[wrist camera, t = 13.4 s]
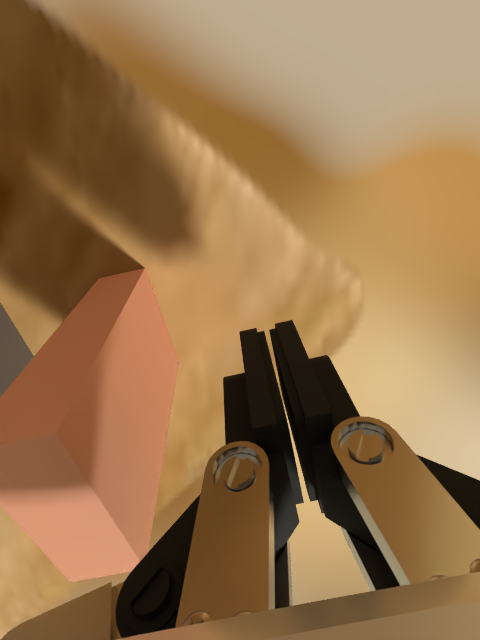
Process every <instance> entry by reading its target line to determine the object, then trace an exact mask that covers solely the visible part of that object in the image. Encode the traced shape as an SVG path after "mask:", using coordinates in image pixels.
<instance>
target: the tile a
mask: <svg viewBox="0 0 480 640" xmlns="http://www.w3.org/2000/svg"><path fill="white" fill-rule="evenodd" d="M33 357H34V356H33V355H32V353H31V351H30V350H29V348H28V347H27V345H26V343H25V342H24V340H23V339H22V337H21V335H20V334H19V332H18V331H17V329H16V327H15V326H14V324H13V323H12V321H11V319H10V318H9V316H8V315H7V313H6V311H5V310H4V308H3V307H2V305H1V303H0V397H1V396H2V395H3V393H4V392H5V391H6V390H7V389H8V387H9V386H10V385H11V384H12V383H13V381H14V380H15V379H16V378H17V377H18V375H19V374H20V373H21V372H22V371H23V369H24V368H25V367H26V366H27V365H28V363H29V362H30V361H31V360H32V359H33Z"/></svg>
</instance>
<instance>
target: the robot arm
mask: <svg viewBox="0 0 480 640" xmlns="http://www.w3.org/2000/svg"><path fill="white" fill-rule="evenodd" d="M269 331H270V336H271V341H272V346H273V351H274V356H275V361H276V366H277V371H278V376H279V381H280V386H281V391H282V396H283V400H284V404H285V408H286V412H287V416H288V420H289V423H290V427H291V431H292V435H293V439H294V442H295V446H296V450H297V453H298V457H299V461H300V465H301V468H302V473H303V476H304V480H305V484H306V488H307V492H308V495H309V499H310V501H315V500H318V502H319V506H320V509H321V512H322V513H324V514H325V517H326V518H328V519H330V520H331V521H333V522H334V523H336V524H338V525H339V526H341V529H342V532H343V535H344V537H345V539H346V541H347V543H348V545H349V547H350V550H351V552H352V554H353V556H354V558H355V560H356V562H357V564H358V566H359V568H360V570H361V572H362V574H363V576H364V579H365V581H366V583H367V585H368V587H369V589H370V591H371V592H365V593H360V594H354V595H349V596H344V597H338V598H332V599H327V600H322V601H317V602H311V603H306V604H300V605H295V606H293V598H292V576H291V556H290V555H291V554H290V543H289V538H290V536H291V534H292V533H293V531H294V529H295V528H296V527H297V525H298V523H299V518H298V514H297V510H296V505H295V504H300V503H304V502H303V497H302V492H301V487H300V482H299V477H298V472H297V467H296V462H295V457H294V452H293V448H292V442H291V437H290V432H289V428H288V423H287V419H286V415H285V410H284V406H283V403H282V399H281V395H280V391H279V387H278V383H277V379H276V375H275V372H274V368H273V364H272V360H271V356H270V352H269V348H268V345H267V341H266V337H265V333H264V331H262V332H257V329H256V328H254V329H250V330H245V331H240V340H241V347H242V355H243V363H244V370H245V373H241V374H237V375H232V376H227V377H224V379H223V385H224V412H225V438H226V445H225V446H223V447H221V448H220V449H218V450H217V451H216V452H215V453H214V454H213V455H212V457H211V458H210V459H209V461H208V463H207V466H206V469H205V473H204V478H203V483H202V489H201V494H200V495H199V496H198V497H197V498H196V499H195V501H194V502H193V503H192V504H191V505H190V506H189V507H188V509H187V510H186V511H185V512H184V513H183V514H182V515H181V516H180V518H179V519H178V520H177V521H176V522H175V523H174V524H173V525H172V526H171V528H170V529H169V530H168V531H167V532H166V533H165V534H164V536H163V537H162V538H161V539H160V540H159V541H158V542H157V543H156V544H155V545H154V546H153V548H152V549H151V550H150V551H149V552H148V553H147V554H146V555H145V557H144V558H143V559H142V560H141V561H140V562H139V563H138V564H137V566H136V567H135V568H134V569H133V570H132V572H131V573H130V574H129V576H128V577H127V579H126V580H125V581H124V582H122V583H120V584H118V585H116V586H115V585H114V584H113V583H112V582H110V583H108V584H106V585H104V586H102V587H99V588H97V589H95V590H93V591H91V592H89V593H86V594H84V595H82V596H80V597H78V598H76V599H73V600H71V601H69V602H67V603H65V604H62V605H60V606H58V607H56V608H54V609H52V610H49V611H47V612H45V613H43V614H41V615H39V616H36V617H34V618H32V619H30V620H28V621H26V622H23V623H21V624H20V625H18V626H17V627H15V628H14V629H12V630H10V631H9V632H8V633H7V634H6V635H5V636H4V637H3V638H2V639H1V640H480V481H479V480H477V479H475V478H472V477H470V476H467V475H465V474H462V473H460V472H458V471H455V470H452V469H450V468H448V467H445V466H443V465H441V464H438V463H436V462H433V461H431V460H428V459H426V458H423V457H421V456H418V455H416V454H415V453H414V452H413V451H412V450H411V448H410V447H409V446H408V445H407V444H406V442H405V441H404V440H403V439H402V438H401V437H400V435H399V434H398V433H397V432H396V431H395V430H394V429H393V428H392V427H391V426H390V425H388V424H387V423H385V422H383V421H381V420H379V419H375V418H371V417H360V415H359V413H358V411H357V410H356V408H355V406H354V404H353V402H352V400H351V398H350V396H349V394H348V393H347V390H346V388H345V387H344V385H343V383H342V381H341V379H340V377H339V375H338V373H337V371H336V370H335V368H334V366H333V364H332V362H331V360H330V358H329V357H328V356H327V355H325V356H320V357H316V358H311V359H309V358H308V355H307V353H306V351H305V348H304V346H303V344H302V341H301V339H300V337H299V334H298V332H297V330H296V328H295V325H294V323H293V321H292V320H290V321H286V322H281V323H277V324H275V329H271V330H269Z"/></svg>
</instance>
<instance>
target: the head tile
mask: <svg viewBox="0 0 480 640" xmlns="http://www.w3.org/2000/svg"><path fill="white" fill-rule="evenodd" d="M178 364H179V362H178V359H177V356H176V354H175V351H174V348H173V345H172V342H171V340H170V337H169V334H168V331H167V328H166V326H165V323H164V320H163V317H162V314H161V312H160V309H159V306H158V303H157V300H156V298H155V295H154V292H153V289H152V286H151V284H150V281H149V278H148V275H147V272H146V270H145V268H143V269H139V270H134V271H130V272H125V273H120V274H116V275H111V276H106V277H102V278H99V279H98V280H97V281H96V283H95V284H94V285H93V286H92V287H91V289H90V290H89V291H88V292H87V293H86V295H85V296H84V297H83V298H82V299H81V301H80V302H79V303H78V304H77V305H76V307H75V308H74V309H73V310H72V311H71V313H70V314H69V315H68V316H67V318H66V319H65V320H64V321H63V322H62V324H61V325H60V326H59V327H58V328H57V330H56V331H55V332H54V333H53V334H52V336H51V337H50V338H49V339H48V340H47V342H46V343H45V344H44V345H43V346H42V348H41V349H40V350H39V351H38V352H37V354H36V355H35V356H34V357H33V359H32V360H31V361H30V362H29V363H28V365H27V366H26V367H25V368H24V369H23V371H22V372H21V373H20V374H19V375H18V377H17V378H16V379H15V380H14V381H13V383H12V384H11V385H10V386H9V387H8V389H7V390H6V391H5V392H4V393H3V395H2V396H1V397H0V505H1V506H2V507H3V509H4V510H5V511H6V512H7V513H8V514H9V515H10V516H11V517H12V518H13V520H14V521H15V522H16V523H17V524H18V525H19V526H20V527H21V528H22V529H23V530H24V532H25V533H26V534H27V535H28V536H29V537H30V538H31V539H32V540H33V541H34V543H35V544H36V545H37V546H38V547H39V548H40V549H41V550H42V551H43V552H44V554H45V555H46V556H47V557H48V558H49V559H50V560H51V561H52V562H53V563H54V565H55V566H56V567H57V568H58V569H59V570H60V571H61V572H62V573H63V574H64V575H65V577H66V578H67V579H68V580H69V581H70V582H74V581H79V580H85V579H90V578H96V577H101V576H107V575H112V574H117V573H123V572H129V571H132V570H133V569H134V568H135V567H136V566H137V564H138V563H139V562H140V561H141V560H142V559H143V558H144V557H145V555H146V554H147V553H148V548H149V542H150V536H151V530H152V524H153V518H154V512H155V505H156V499H157V493H158V487H159V481H160V475H161V468H162V462H163V456H164V450H165V444H166V438H167V431H168V425H169V419H170V413H171V407H172V401H173V395H174V388H175V382H176V376H177V370H178Z"/></svg>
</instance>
